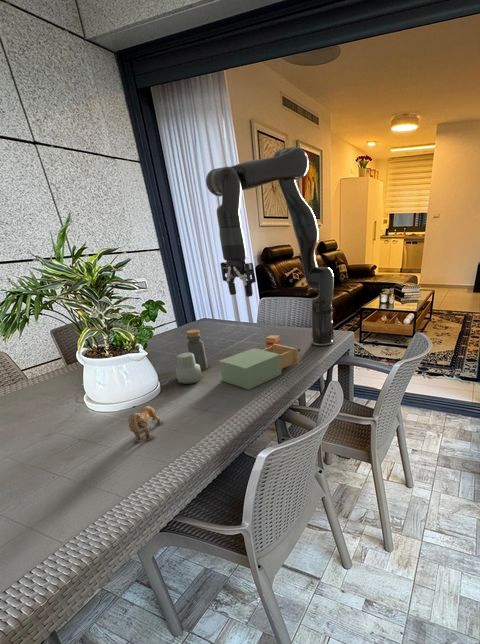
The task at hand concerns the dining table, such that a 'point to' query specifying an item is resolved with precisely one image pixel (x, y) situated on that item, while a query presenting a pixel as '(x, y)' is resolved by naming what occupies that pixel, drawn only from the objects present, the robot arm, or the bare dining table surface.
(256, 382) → the cabinet
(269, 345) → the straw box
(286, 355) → the drawer
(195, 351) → the bottle
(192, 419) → the dining table surface
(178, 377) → the air freshener
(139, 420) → the lion figurine
